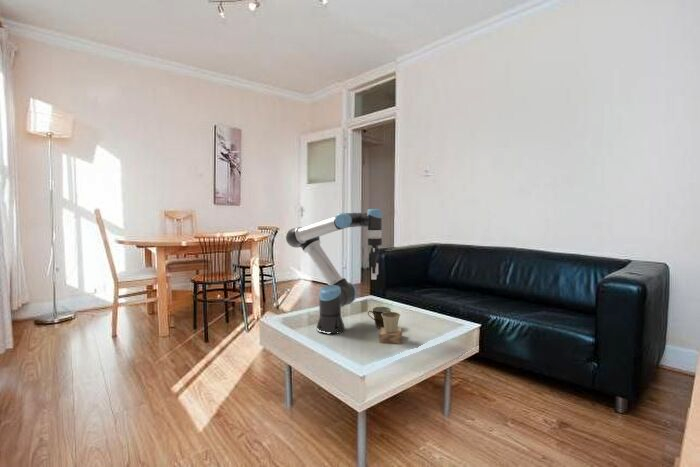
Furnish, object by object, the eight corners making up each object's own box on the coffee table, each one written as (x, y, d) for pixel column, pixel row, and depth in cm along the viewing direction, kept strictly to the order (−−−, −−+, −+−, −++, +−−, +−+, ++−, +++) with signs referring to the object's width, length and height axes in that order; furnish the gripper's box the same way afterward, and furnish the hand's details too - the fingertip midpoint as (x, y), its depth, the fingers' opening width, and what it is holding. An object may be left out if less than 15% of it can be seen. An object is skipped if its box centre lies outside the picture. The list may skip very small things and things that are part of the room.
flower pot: (399, 328, 185) (399, 311, 184) (400, 334, 175) (400, 317, 175) (381, 327, 186) (381, 311, 185) (381, 334, 176) (381, 316, 176)
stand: (379, 342, 176) (379, 334, 176) (380, 334, 187) (380, 327, 187) (401, 343, 174) (401, 335, 174) (401, 335, 185) (401, 328, 185)
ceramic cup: (387, 323, 206) (387, 306, 205) (393, 328, 196) (393, 310, 195) (365, 325, 203) (365, 307, 202) (370, 330, 193) (370, 312, 192)
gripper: (380, 239, 179) (380, 281, 181) (382, 236, 204) (383, 273, 206) (365, 239, 181) (365, 281, 182) (369, 236, 205) (369, 272, 207)
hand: (374, 277), depth 194 cm, fingers open, 13 cm apart
